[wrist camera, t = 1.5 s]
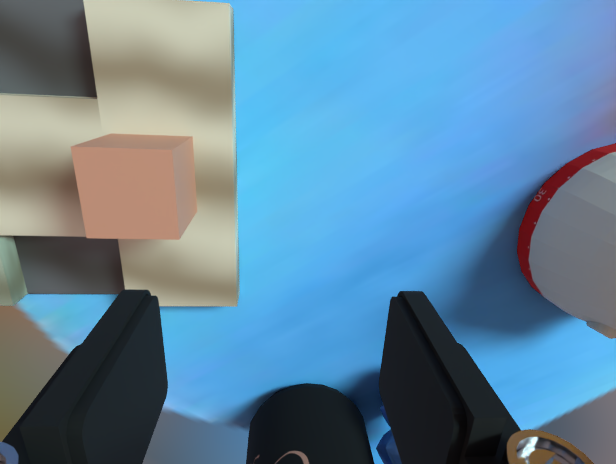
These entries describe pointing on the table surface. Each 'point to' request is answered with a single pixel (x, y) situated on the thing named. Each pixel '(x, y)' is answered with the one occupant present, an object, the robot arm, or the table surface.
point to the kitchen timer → (575, 239)
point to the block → (136, 185)
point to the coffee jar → (308, 429)
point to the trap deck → (117, 120)
